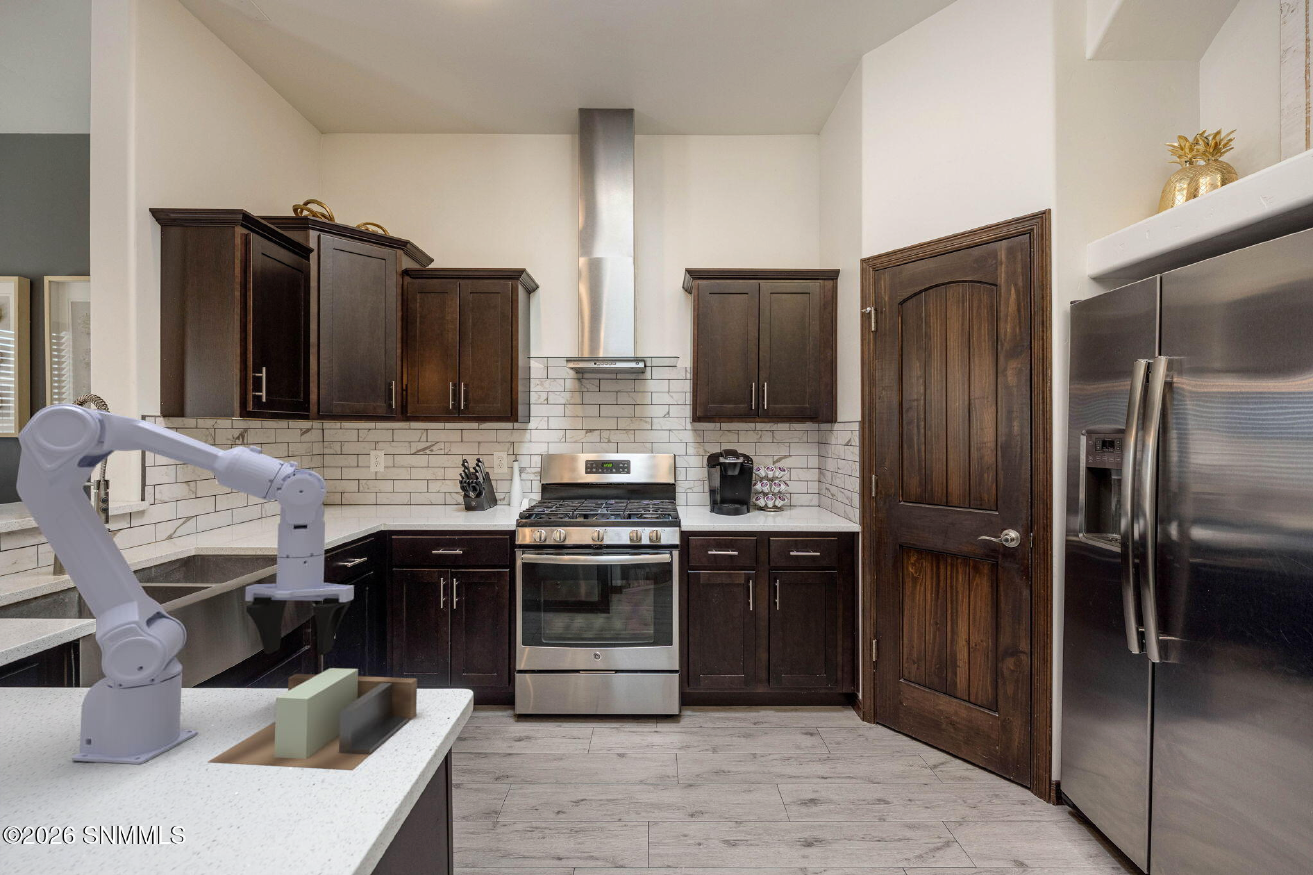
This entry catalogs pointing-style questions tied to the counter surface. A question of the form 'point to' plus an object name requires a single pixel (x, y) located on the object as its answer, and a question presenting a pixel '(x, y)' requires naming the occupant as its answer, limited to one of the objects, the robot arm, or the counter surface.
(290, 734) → the pale green rectangular block
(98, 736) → the robot arm
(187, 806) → the counter surface
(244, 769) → the counter surface
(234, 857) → the counter surface
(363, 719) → the bookend
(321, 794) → the counter surface
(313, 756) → the wooden display base
